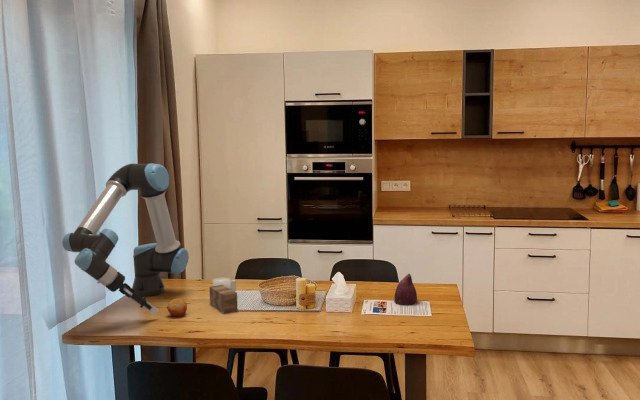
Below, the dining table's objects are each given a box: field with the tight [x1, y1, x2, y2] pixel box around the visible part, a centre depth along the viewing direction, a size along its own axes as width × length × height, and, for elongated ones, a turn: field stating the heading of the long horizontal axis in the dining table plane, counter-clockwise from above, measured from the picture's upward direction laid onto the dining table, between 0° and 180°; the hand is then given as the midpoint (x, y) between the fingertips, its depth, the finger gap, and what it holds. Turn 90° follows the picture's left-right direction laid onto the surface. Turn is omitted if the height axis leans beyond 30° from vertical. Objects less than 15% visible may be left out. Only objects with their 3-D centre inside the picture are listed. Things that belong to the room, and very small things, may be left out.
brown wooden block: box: [209, 285, 239, 314], centre depth 254 cm, size 16×6×8 cm, turn 32°
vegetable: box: [393, 273, 418, 306], centre depth 256 cm, size 10×10×15 cm
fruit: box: [166, 297, 188, 318], centre depth 246 cm, size 8×8×8 cm
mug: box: [212, 276, 237, 292], centre depth 269 cm, size 8×11×9 cm
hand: (155, 312), depth 241 cm, fingers closed
